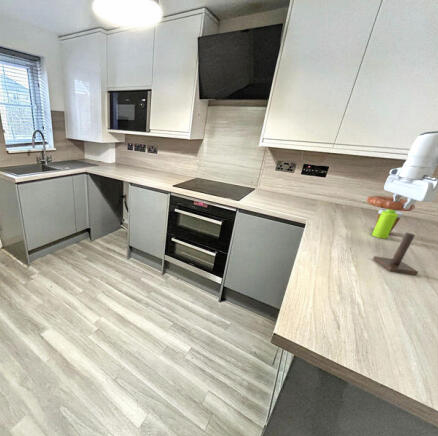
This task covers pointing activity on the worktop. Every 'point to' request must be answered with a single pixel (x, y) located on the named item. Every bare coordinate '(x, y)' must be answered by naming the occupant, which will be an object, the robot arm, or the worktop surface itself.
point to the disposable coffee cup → (395, 220)
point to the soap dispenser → (385, 224)
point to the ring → (388, 203)
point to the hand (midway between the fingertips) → (400, 206)
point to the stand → (398, 258)
